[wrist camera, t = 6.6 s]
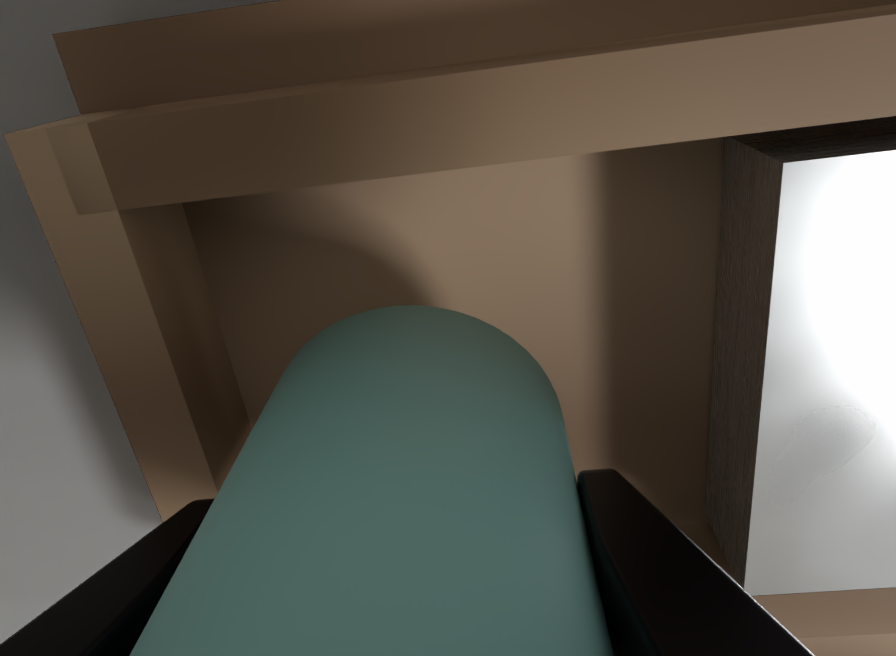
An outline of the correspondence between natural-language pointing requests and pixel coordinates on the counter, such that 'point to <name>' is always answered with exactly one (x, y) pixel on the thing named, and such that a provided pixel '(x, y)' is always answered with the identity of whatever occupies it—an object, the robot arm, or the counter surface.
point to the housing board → (437, 210)
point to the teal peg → (394, 508)
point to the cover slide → (806, 360)
